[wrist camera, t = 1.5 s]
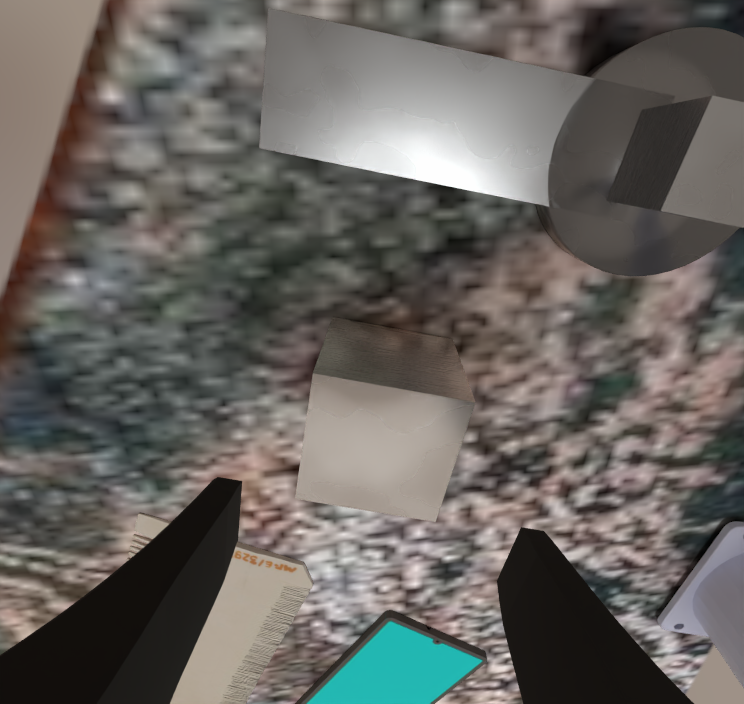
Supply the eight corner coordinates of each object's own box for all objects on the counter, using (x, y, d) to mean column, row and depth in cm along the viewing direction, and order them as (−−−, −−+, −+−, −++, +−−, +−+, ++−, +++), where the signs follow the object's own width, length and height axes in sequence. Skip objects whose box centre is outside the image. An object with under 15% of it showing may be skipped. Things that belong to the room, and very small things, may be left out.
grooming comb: (142, 504, 22) (135, 515, 22) (323, 562, 24) (321, 574, 23) (96, 683, 30) (89, 696, 29) (236, 719, 31) (232, 732, 30)
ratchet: (793, 66, 13) (975, 24, 9) (684, 281, 16) (785, 323, 12) (286, -47, 12) (235, -147, 8) (267, 199, 15) (223, 214, 11)
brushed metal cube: (452, 339, 17) (475, 402, 13) (424, 437, 19) (435, 522, 15) (332, 316, 17) (313, 373, 13) (317, 418, 19) (295, 498, 15)
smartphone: (274, 730, 30) (388, 616, 24) (277, 716, 30) (388, 602, 25) (363, 761, 31) (491, 660, 26) (364, 747, 32) (487, 645, 26)
